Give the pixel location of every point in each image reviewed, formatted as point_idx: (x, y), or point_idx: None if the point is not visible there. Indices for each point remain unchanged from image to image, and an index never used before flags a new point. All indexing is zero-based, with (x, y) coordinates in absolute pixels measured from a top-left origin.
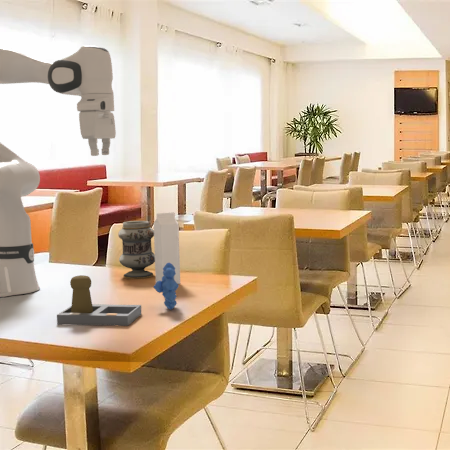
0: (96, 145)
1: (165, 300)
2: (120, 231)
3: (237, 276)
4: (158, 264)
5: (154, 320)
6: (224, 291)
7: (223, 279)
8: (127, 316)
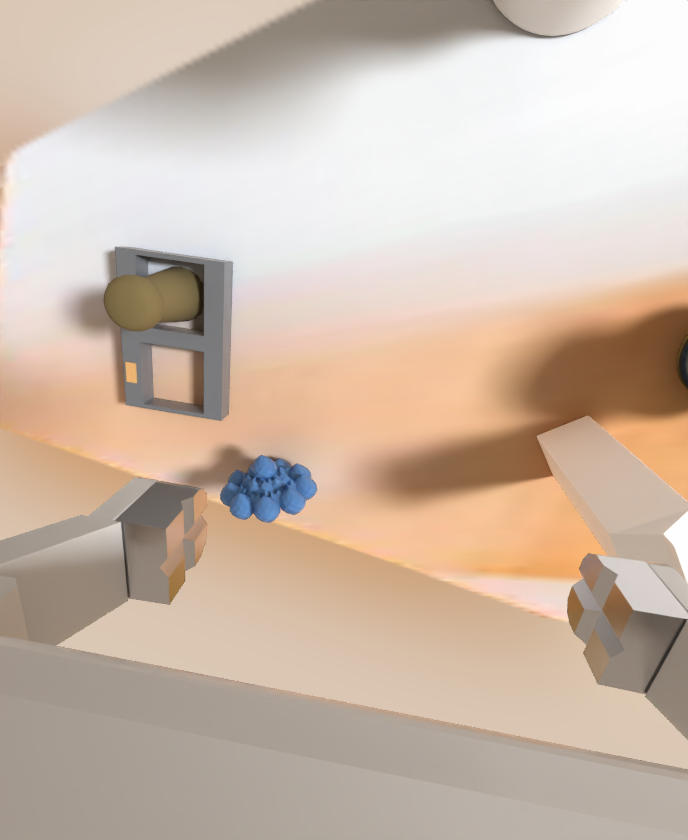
0: (31, 634)
1: (276, 463)
2: None
3: None
4: (582, 448)
5: (181, 441)
6: (437, 562)
7: None
8: (126, 404)
